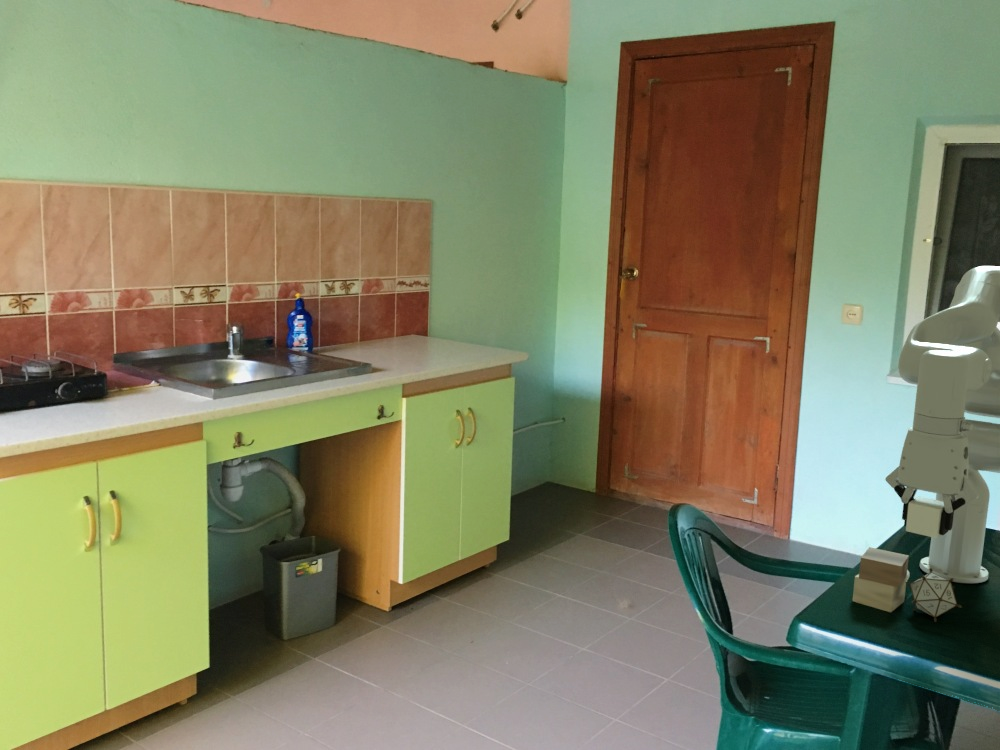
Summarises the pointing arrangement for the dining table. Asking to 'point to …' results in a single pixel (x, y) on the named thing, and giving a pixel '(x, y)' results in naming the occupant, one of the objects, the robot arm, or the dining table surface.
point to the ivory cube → (924, 516)
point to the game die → (933, 594)
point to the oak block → (878, 594)
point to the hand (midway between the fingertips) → (926, 527)
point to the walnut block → (883, 567)
